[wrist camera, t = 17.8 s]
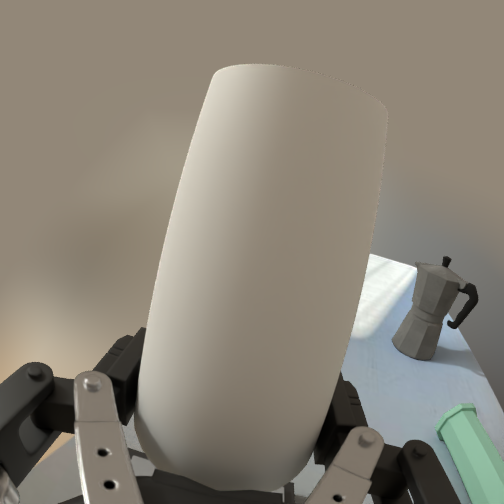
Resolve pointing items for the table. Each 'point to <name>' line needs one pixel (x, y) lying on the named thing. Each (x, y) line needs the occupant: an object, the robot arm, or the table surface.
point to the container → (473, 454)
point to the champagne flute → (260, 276)
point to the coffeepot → (432, 309)
